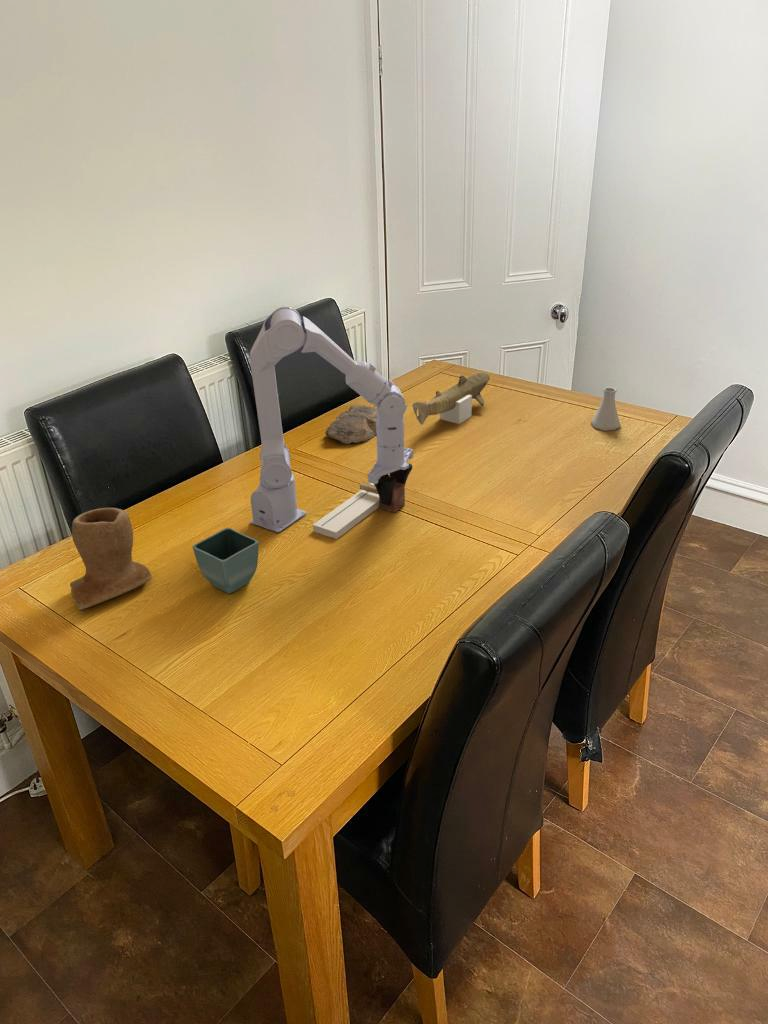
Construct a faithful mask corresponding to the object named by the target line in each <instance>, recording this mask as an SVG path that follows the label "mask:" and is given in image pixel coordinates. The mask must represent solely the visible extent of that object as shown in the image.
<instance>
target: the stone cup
mask: <svg viewBox="0 0 768 1024" xmlns="http://www.w3.org/2000/svg"><path fill="white" fill-rule="evenodd" d="M133 531H134V530H133V526H132V522H131V518H130V515H129V514H128V513H127V512H126V511H125V510H124V509H121V508H117V507H103V508H100V507H99V508H96V509H91V510H88V511H86V512H85V511H84V512H82V513H80V514H79V515H77V516H76V517H75V518H74V519H73V521H72V523H71V538H72V541H73V543H74V546H75V548H76V550H77V552H78V554H79V556H80V558H81V561H82V562H83V564H84V568H85V574H84V575H83V576H81V577H80V578H78V579H75V580H72V582H69V586H70V588H71V589H70V592H71V595H72V600H73V601H74V604H75V606H76V608H77V609H78V610H79V611H81V610H86V609H88V608H90V607H92V606H96V605H98V604H101V603H103V602H105V601H109V600H111V599H113V598H116V597H118V596H119V597H120V596H121V595H123V594H125V593H128V592H130V591H132V590H134V589H137V588H138V587H141V586H142V585H145V584H146V583H148V582H150V580H151V579H152V573H151V571H150V570H149V568H148V567H146V565H144V564H142V563H140V562H137V561H133V556H132V553H133V547H134V545H133V544H134V532H133Z"/></svg>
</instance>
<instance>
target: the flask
mask: <svg viewBox="0 0 768 1024" xmlns="http://www.w3.org/2000/svg"><path fill="white" fill-rule="evenodd" d="M602 391H603V397H602V400H601V402H600V405H599V407H598V408H597V410H596V412H595V414H594V415H593V418H592V419H591V421H590V424H591V426H592V427H593V428H595V429H597V430H599V431H600V430H601V431H603V432H605V431H615V430H618V429H619V428H621V422H620V418H619V415H618V411H617V408H616V407H617V406H616V393H617V392H618V390H617V389H616V388H615V387H611V386H608V387H604V388H603V389H602Z"/></svg>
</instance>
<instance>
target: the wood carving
mask: <svg viewBox="0 0 768 1024" xmlns="http://www.w3.org/2000/svg"><path fill="white" fill-rule="evenodd" d="M490 378H491V377H490V375H489V374H488V373H485V372H480V373H479V372H478V373H475V374H473V375H471V376H469V377H465V376H464V375H459V377H458V383H456V384H455V385H453V386H451V387H449V388H447V389H445V390H443V391H442V392H440V390H437V391H435V396H434V397H432V398H431V399H430V400H429V401H420V400H417V401H413V403H412V408H413V413H414V415H415V417H416V419H417V421H418V422H419V424H420V425H422V426H423V425H424V424H425V421H426V419H427V418H428V417H429V416H436V415H439V419H440V420H442V419H443V420H442V421H447V422H449V423H454V424H458V425H460V424H461V423H464V422H465V421H466V420H468V419H470V418H471V417H472V411H473V410H472V407H473V403H472V402H473V399H475V400H476V401H477V402H478V403H479V405H480V406H481V407H483V406H484V405H485V401H484V399H483V396H482V395H481V393H482V391H483V390H484V388H485V387H486V386H487V384H488V382H489V380H490Z"/></svg>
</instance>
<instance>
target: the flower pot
mask: <svg viewBox="0 0 768 1024" xmlns="http://www.w3.org/2000/svg"><path fill="white" fill-rule="evenodd" d="M259 545H260V544H259V540H257V539H255V538H253V537H251V536H248V535H246V534H244V533H241V532H239V531H238V530H236V529H233V528H231V527H226V528H225V527H224V528H223V529H221V530H219V531H218V532H216V533H214V534H211V535H210V536H208V537H206V538H204V539H202V540H201V541H198V542H197V543H195V544H193V545H192V547H191V548H192V550H193V553H194V556H195V560H196V562H197V566H198V568H199V570H200V572H201V574H202V575H203V577H204V579H206V580H207V581H208V582H209V583H210V585H212V586H213V587H215V588H217V589H220V591H223V592H225V593H226V594H233V593H234V592H236V591H237V590H239V589H241V588H242V587H244V586H246V585H247V584H250V582H251V580H252V579H253V577H254V575H255V573H256V571H257V568H258V564H259V563H258V562H259Z"/></svg>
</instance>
